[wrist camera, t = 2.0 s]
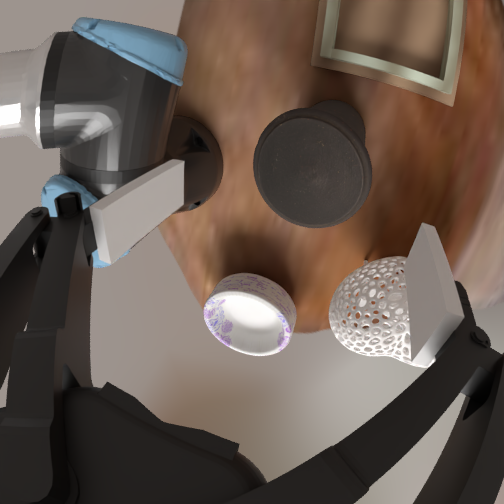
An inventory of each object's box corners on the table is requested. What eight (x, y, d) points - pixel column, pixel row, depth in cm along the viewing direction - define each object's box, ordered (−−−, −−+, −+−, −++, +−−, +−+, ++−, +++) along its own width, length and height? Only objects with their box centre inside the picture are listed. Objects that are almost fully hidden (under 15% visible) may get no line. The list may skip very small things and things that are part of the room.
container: (298, 158, 39) (246, 224, 23) (302, 93, 34) (248, 105, 18) (362, 169, 37) (360, 246, 21) (370, 102, 32) (382, 121, 16)
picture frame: (312, 65, 32) (307, 64, 28) (327, -50, 21) (323, -62, 18) (449, 105, 28) (458, 108, 25) (464, -12, 17) (473, -20, 14)
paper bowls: (313, 321, 53) (304, 354, 47) (244, 330, 61) (229, 359, 55) (279, 252, 48) (264, 282, 42) (206, 271, 56) (186, 298, 49)
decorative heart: (458, 252, 37) (487, 336, 24) (431, 305, 43) (441, 391, 30) (348, 221, 41) (335, 300, 28) (332, 279, 47) (312, 364, 34)
